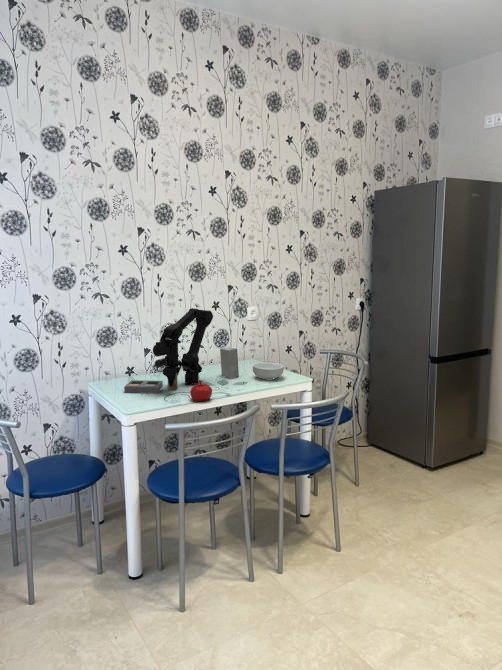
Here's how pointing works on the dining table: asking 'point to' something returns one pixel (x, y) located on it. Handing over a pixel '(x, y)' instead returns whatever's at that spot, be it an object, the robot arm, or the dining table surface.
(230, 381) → the dining table surface
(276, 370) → the cereal bowl
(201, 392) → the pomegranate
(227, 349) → the skincare box
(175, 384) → the walnut plug
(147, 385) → the socket block
